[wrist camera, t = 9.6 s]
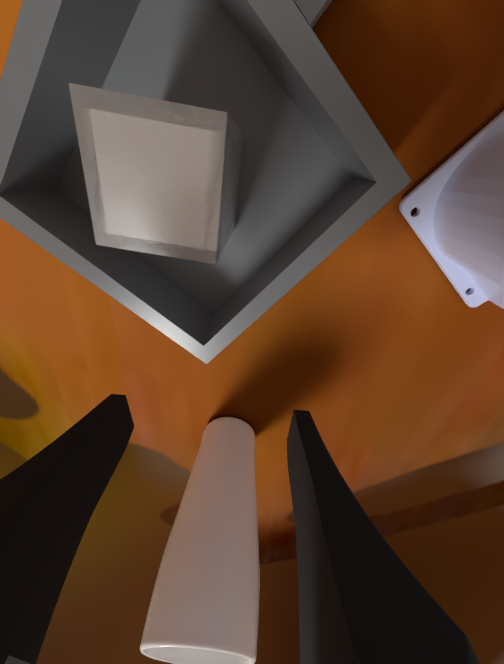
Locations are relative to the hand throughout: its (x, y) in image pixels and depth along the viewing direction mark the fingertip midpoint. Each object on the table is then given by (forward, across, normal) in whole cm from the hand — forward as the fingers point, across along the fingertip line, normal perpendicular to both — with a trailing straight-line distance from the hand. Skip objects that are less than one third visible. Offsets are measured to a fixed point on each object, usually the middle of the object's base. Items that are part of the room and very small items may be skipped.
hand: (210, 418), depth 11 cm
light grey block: (+9, +2, -8) cm, 13 cm away
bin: (+10, +2, -8) cm, 13 cm away
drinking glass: (+10, 0, +14) cm, 17 cm away
